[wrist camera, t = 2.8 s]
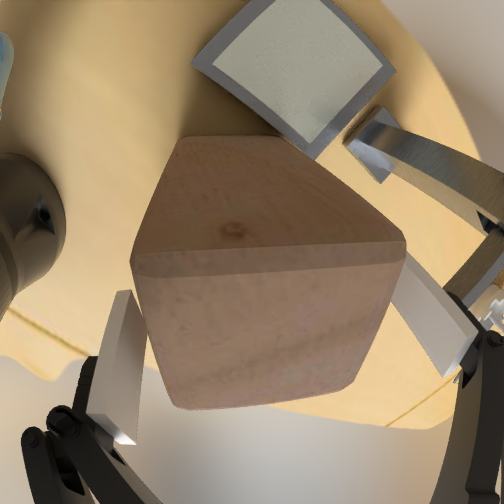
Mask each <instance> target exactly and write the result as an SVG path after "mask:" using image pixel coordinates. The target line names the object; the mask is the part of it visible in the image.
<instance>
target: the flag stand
mask: <svg viewBox="0 0 504 504" xmlns="http://www.w3.org/2000/svg"><path fill="white" fill-rule="evenodd" d="M468 310H470V311H471V313H472V314H473V315H474V316H475V317H476V319H477V320H478V321H479V322H480V323H481V325H482V326H483V327H484V328H485V329H486V331H488V330H491V329H492V328H493V327H494V326H496V327H497V328H498V329H499V330H500V332H501V333H502V334H503V335H504V325H503V323H502V322H503V321H504V317H503V314H504V289H499V288H498V287H497V285H495V284H493V285H490V286H489V287H488V288H487V289H486V290H485V291H484V292H483V293H482V295H481V296H480V297H479V298H478V299H477V300H476V301H475V302H474V303H473V304H472V306H471V307H470V308H469V309H468Z"/></svg>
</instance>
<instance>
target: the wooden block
mask: <svg viewBox="0 0 504 504" xmlns="http://www.w3.org/2000/svg"><path fill="white" fill-rule="evenodd" d="M405 260H406V240H405V238H404V235H403V233H402V231H401V230H400V229H399V228H398V227H396V226H395V225H394V224H393V223H392V222H391V221H390V220H389V219H387V218H386V217H385V216H384V215H383V214H382V213H380V212H379V211H378V210H377V209H376V208H374V207H373V206H372V205H371V204H370V203H368V202H367V201H366V200H365V199H364V198H362V197H361V196H360V195H359V194H357V193H356V192H355V191H354V190H352V189H351V188H350V187H349V186H347V185H346V184H345V183H344V182H342V181H341V180H340V179H338V178H337V177H336V176H334V175H333V174H332V173H330V172H329V171H328V170H326V169H325V168H324V167H322V166H321V165H320V164H318V163H317V162H316V161H314V160H313V159H311V158H310V157H309V156H307V155H306V154H304V153H303V152H302V151H300V150H299V149H297V148H296V147H294V146H293V145H292V144H290V143H289V142H287V141H286V140H284V139H282V138H280V137H278V136H267V135H213V136H188V137H184V138H182V139H180V140H178V141H177V143H176V145H175V147H174V150H173V152H172V154H171V156H170V158H169V160H168V162H167V164H166V167H165V169H164V171H163V173H162V175H161V178H160V180H159V182H158V184H157V187H156V189H155V191H154V194H153V196H152V198H151V201H150V203H149V206H148V208H147V210H146V213H145V215H144V218H143V220H142V223H141V226H140V228H139V231H138V233H137V236H136V239H135V241H134V245H133V249H132V253H131V257H130V266H131V270H132V275H133V279H134V283H135V287H136V292H137V296H138V300H139V303H140V307H141V311H142V315H143V318H144V322H145V325H146V329H147V332H148V336H149V339H150V342H151V346H152V349H153V352H154V355H155V358H156V361H157V364H158V367H159V370H160V373H161V376H162V379H163V382H164V385H165V387H166V390H167V393H168V395H169V397H170V399H171V401H172V403H173V405H175V406H176V407H178V408H181V409H185V410H209V409H225V408H236V407H247V406H256V405H264V404H271V403H279V402H285V401H291V400H297V399H303V398H309V397H314V396H319V395H324V394H329V393H333V392H338V391H340V390H342V389H344V388H345V387H347V386H348V385H350V384H351V383H352V382H353V381H354V379H355V377H356V375H357V374H358V372H359V370H360V368H361V366H362V364H363V362H364V360H365V358H366V355H367V353H368V351H369V349H370V347H371V345H372V343H373V341H374V338H375V336H376V334H377V332H378V329H379V327H380V325H381V323H382V320H383V318H384V315H385V313H386V311H387V308H388V306H389V303H390V301H391V298H392V296H393V293H394V290H395V288H396V285H397V282H398V280H399V277H400V274H401V271H402V269H403V266H404V263H405Z"/></svg>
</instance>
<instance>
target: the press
mask: <svg viewBox="0 0 504 504" xmlns="http://www.w3.org/2000/svg"><path fill="white" fill-rule="evenodd" d="M190 65H191V66H192V67H194V68H195V69H197V70H198V71H200V72H201V73H203V74H204V75H206V76H207V77H208V78H210V79H211V80H213V81H214V82H215V83H217V84H218V85H220V86H221V87H222V88H224V89H225V90H226V91H228V92H229V93H230V94H232V95H233V96H234V97H236V98H237V99H238V100H240V101H241V102H242V103H243V104H245V105H246V106H247V107H249V108H250V109H251V110H252V111H254V112H255V113H256V114H257V115H259V116H260V117H261V118H262V119H264V120H265V121H266V122H267V123H268V124H270V125H271V126H272V127H273V128H274V129H276V130H277V131H278V132H279V133H280V134H282V135H283V136H284V137H285V138H286V139H287V140H289V141H290V142H291V143H292V144H293V145H294V146H295V147H297V148H298V149H299V150H300V151H302V152H303V153H304V154H306V155H307V156H309V157H310V158H311V159H313V160H315V159H316V158H317V157H318V156H319V155H320V154H321V152H322V151H323V150H324V149H325V148H326V147H327V146H328V145H329V144H330V143H331V141H332V140H333V139H334V138H335V137H336V136H337V135H338V134H339V133H340V132H341V130H342V129H343V128H344V127H345V126H346V125H347V124H348V123H349V122H350V121H351V120H352V118H353V117H354V116H355V115H356V114H357V113H358V112H359V111H360V110H361V109H362V108H363V107H364V105H365V104H366V103H367V102H368V101H369V100H370V99H371V98H372V97H373V96H374V95H375V94H376V92H377V91H378V90H379V89H380V88H381V87H382V86H383V85H384V84H385V83H386V82H387V81H388V80H389V79H390V77H391V76H392V75H393V74H394V73H395V72H396V70H395V68H394V67H393V66H392V65H391V63H390V62H389V61H388V60H387V59H386V57H385V56H384V55H383V54H382V53H381V51H380V50H379V49H378V48H377V47H376V46H375V44H374V43H373V42H372V41H371V40H370V39H369V38H368V37H367V36H366V34H365V33H364V32H363V31H362V30H361V29H360V28H359V27H358V26H357V25H356V24H355V23H354V22H353V21H352V20H351V19H350V18H349V17H348V16H347V15H346V14H345V13H344V12H343V11H342V10H341V9H340V8H339V7H338V6H337V5H335V4H334V3H333V2H332V1H331V0H251V1H250V2H249V3H248V4H246V5H245V6H244V7H243V8H242V9H241V10H240V11H239V12H238V13H237V14H236V15H235V16H234V17H233V18H232V19H231V20H230V21H229V22H228V23H227V24H226V25H225V26H224V27H223V28H222V29H221V30H220V31H219V32H218V33H217V34H216V35H215V36H214V37H213V38H212V39H211V40H210V41H209V42H208V43H207V44H206V45H205V47H204V48H203V49H202V50H201V51H200V52H199V53H198V54H197V55H196V57H195V58H194V59H193V60H192V61H191V62H190ZM343 145H344V146H345V147H346V148H347V150H348V151H349V152H350V153H351V154H352V155H353V156H354V157H355V158H356V159H357V160H358V161H359V163H360V164H361V165H362V166H363V167H364V168H365V169H366V170H367V172H368V173H369V174H370V175H371V176H372V177H373V178H374V180H375V181H377V182H378V183H380V184H381V183H382V182H383V181H384V180H385V179H386V178H387V176H388V175H389V174H390V173H391V172H392V173H393V174H395V175H397V176H399V177H400V178H402V179H404V180H405V181H407V182H409V183H410V184H412V185H413V186H415V187H417V188H418V189H420V190H421V191H423V192H424V193H426V194H427V195H429V196H431V197H432V198H434V199H435V200H437V201H438V202H440V203H441V204H442V205H444V206H445V207H447V208H448V209H450V210H451V211H452V212H454V213H455V214H457V215H458V216H459V217H461V218H462V219H464V220H465V221H466V222H468V223H469V224H470V225H472V226H473V227H474V228H476V229H477V230H478V231H479V232H481V233H482V234H483V235H485V236H486V237H487V236H488V234H489V233H490V232H491V231H492V229H493V228H494V227H495V225H496V224H497V225H498V226H499V227H501V228H502V229H503V230H504V173H502V172H500V171H498V170H496V169H495V168H493V167H491V166H488V165H487V164H485V163H483V162H481V161H479V160H476V159H474V158H472V157H470V156H468V155H466V154H463V153H461V152H459V151H457V150H454V149H452V148H450V147H447V146H445V145H442V144H440V143H437V142H435V141H432V140H430V139H427V138H424V137H422V136H419V135H416V134H414V133H411V132H408V131H405V130H402V129H401V128H400V126H399V125H398V123H397V122H396V121H395V119H394V118H393V117H392V116H391V114H390V113H389V112H388V110H387V109H386V108H385V107H384V106H381V105H378V106H377V107H376V108H375V109H374V110H373V111H372V112H371V113H370V114H369V115H368V116H367V118H366V119H365V120H364V121H363V122H362V123H361V124H360V125H359V126H358V127H357V129H356V130H355V131H354V132H353V133H352V134H351V135H350V136H349V137H348V138H347V139H346V141H345V142H344V143H343Z"/></svg>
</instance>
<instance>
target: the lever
mask: <svg viewBox="0 0 504 504" xmlns="http://www.w3.org/2000/svg"><path fill="white" fill-rule="evenodd" d="M503 268H504V230H503V229H502V228H501V227H499V226H498V225H497V224H496V225H495V227H494V228H493V229H492V231H491V232H490V233H489V234H488V236H487V237H486V238H485V240H484V241H483V242H482V243H481V245H480V246H479V247H478V248H477V249H476V251H475V252H474V253H473V254H472V255H471V257H470V258H469V259H468V260H467V261H466V262H465V264H464V265H463V266H462V267H461V268H460V269H459V270H458V272H457V273H456V274H455V275H454V276H453V277H452V278H451V279H450V280H449V281H448V282H447V283H446V285H445V286H444V287H443V288H442V289H443V290H444V291H445V292H447V291H450V292H451V293H453V294H454V295H456V296H457V297H458V298H459V299H460V300H461V301H462V302H463V303H464V305H465V306H466V307H467V308H468V309H469V308H470V307H471V306H472V304H473V303H474V302H475V301H476V300H477V299H478V298H479V297H480V296H481V295H482V293H483V292H484V291H485V290H486V289H487V288H488V287H489V285H490V284H491V283H492V282H493V281H494V279H495V278H496V277H497V276H498V275H499V273H500V272H501V271H502V270H503Z"/></svg>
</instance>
